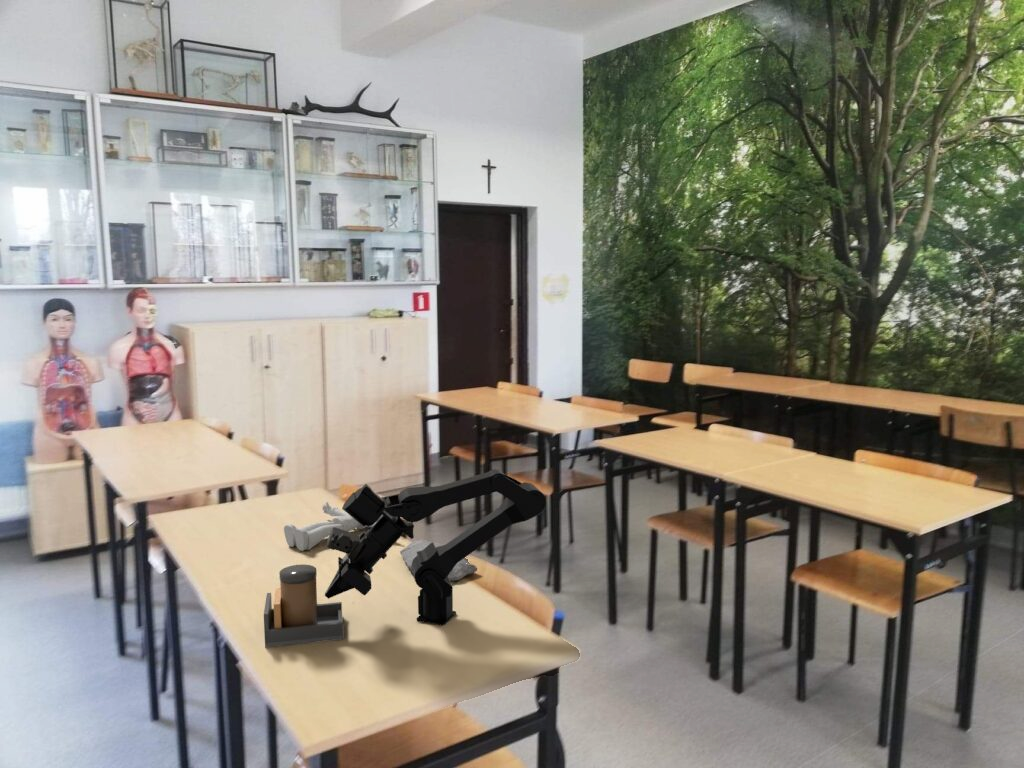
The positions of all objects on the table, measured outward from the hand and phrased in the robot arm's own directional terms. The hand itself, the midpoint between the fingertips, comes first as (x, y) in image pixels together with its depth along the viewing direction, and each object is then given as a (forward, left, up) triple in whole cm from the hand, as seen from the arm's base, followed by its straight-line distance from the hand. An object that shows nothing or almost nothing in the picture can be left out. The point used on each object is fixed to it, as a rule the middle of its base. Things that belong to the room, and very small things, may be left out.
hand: (326, 596), depth 160 cm
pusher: (+8, +5, -6) cm, 11 cm away
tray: (+4, +3, -7) cm, 8 cm away
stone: (-5, -40, -8) cm, 40 cm away
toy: (+30, -51, -8) cm, 60 cm away
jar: (+4, +3, -6) cm, 8 cm away
